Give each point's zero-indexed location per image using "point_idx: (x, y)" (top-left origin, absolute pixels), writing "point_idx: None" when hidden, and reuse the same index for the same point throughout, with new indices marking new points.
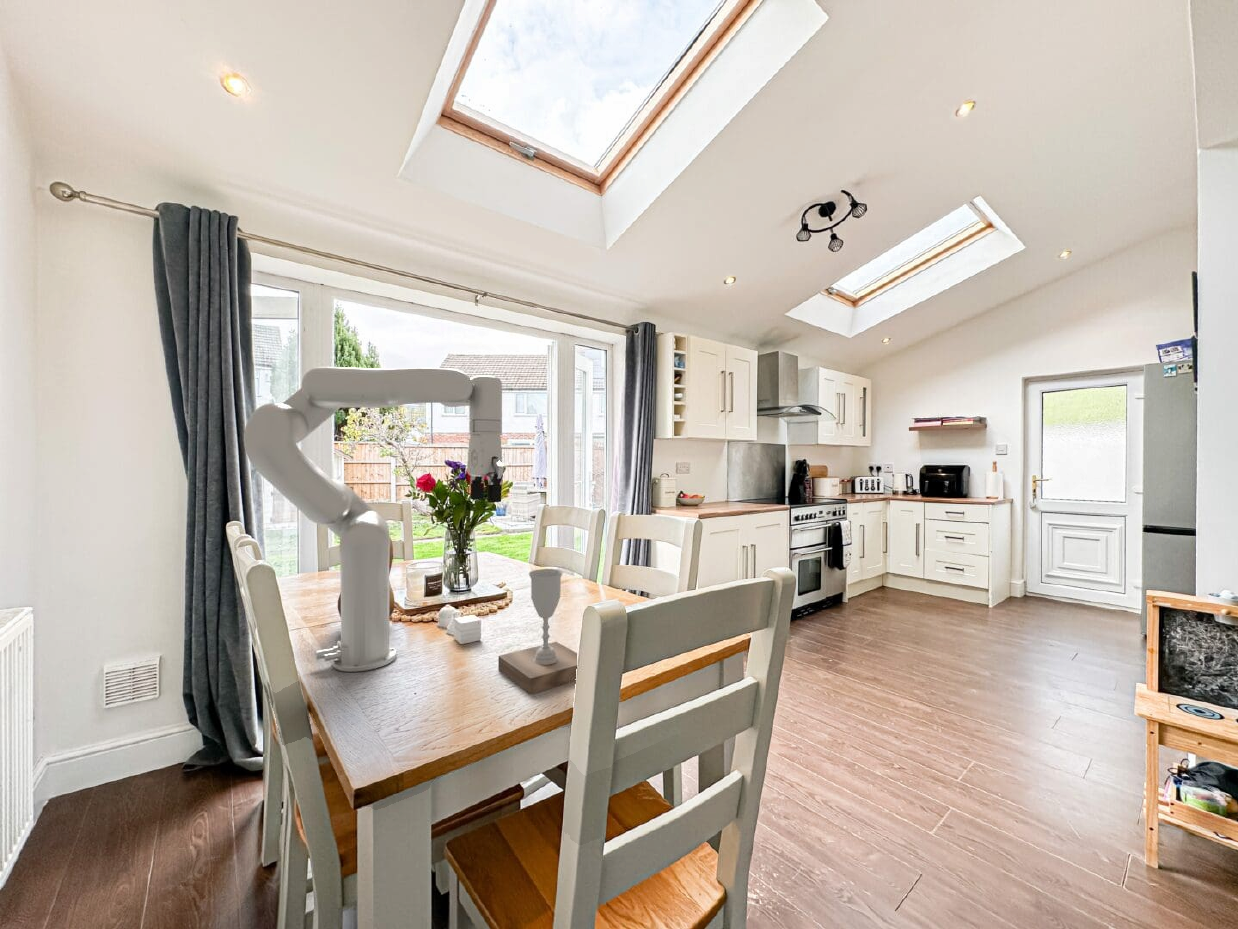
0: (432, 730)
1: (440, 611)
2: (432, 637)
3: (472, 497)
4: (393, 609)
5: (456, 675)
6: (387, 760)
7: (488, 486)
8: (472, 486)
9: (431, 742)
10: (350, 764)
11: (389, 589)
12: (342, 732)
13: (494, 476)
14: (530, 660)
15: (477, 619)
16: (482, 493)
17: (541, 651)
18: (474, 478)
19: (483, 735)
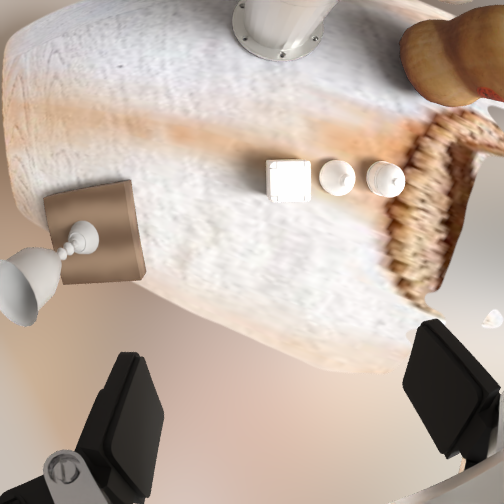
0: (36, 83)
1: (393, 167)
2: (330, 132)
3: (424, 331)
4: (424, 97)
5: (144, 121)
6: (19, 50)
7: (83, 438)
8: (468, 382)
9: (21, 83)
10: (31, 25)
11: (446, 86)
12: (81, 6)
13: (5, 499)
14: (89, 218)
15: (276, 197)
16: (417, 402)
17: (71, 233)
18: (491, 443)
19: (10, 128)
